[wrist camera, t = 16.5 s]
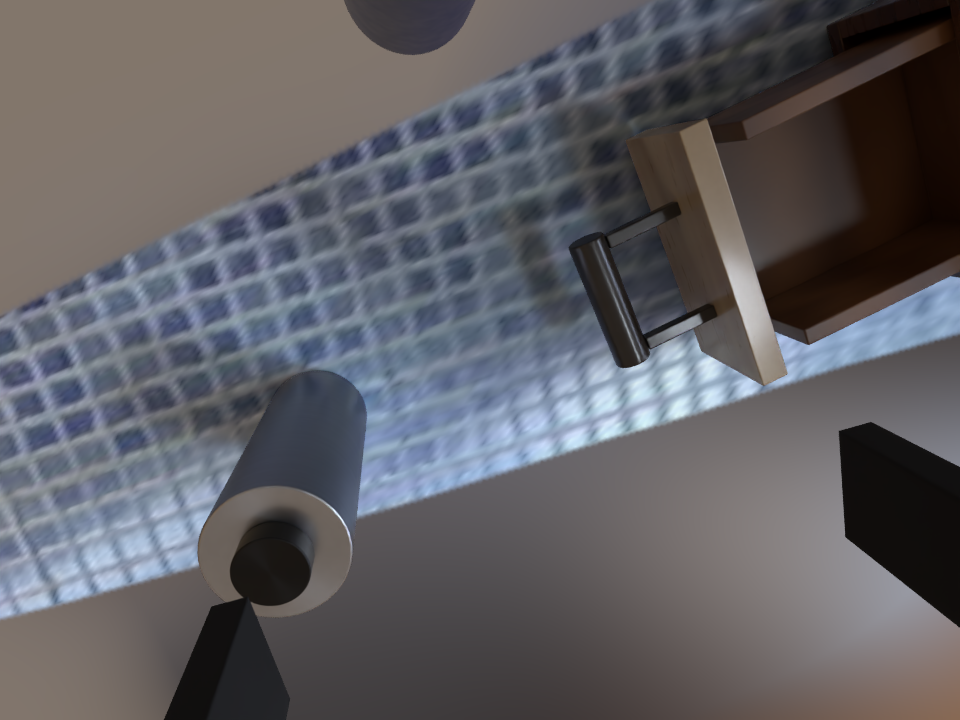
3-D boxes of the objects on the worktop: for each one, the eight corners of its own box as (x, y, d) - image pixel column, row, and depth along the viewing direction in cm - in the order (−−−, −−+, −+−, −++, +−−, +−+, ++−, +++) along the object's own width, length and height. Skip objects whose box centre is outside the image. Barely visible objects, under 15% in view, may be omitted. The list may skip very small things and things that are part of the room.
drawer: (614, 393, 33) (659, 437, 27) (527, 187, 29) (559, 189, 24) (934, 237, 33) (1044, 249, 27) (885, 13, 29) (1000, -26, 24)
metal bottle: (284, 358, 31) (209, 484, 18) (379, 386, 32) (371, 524, 19) (258, 445, 32) (169, 622, 19) (350, 469, 33) (325, 653, 20)
